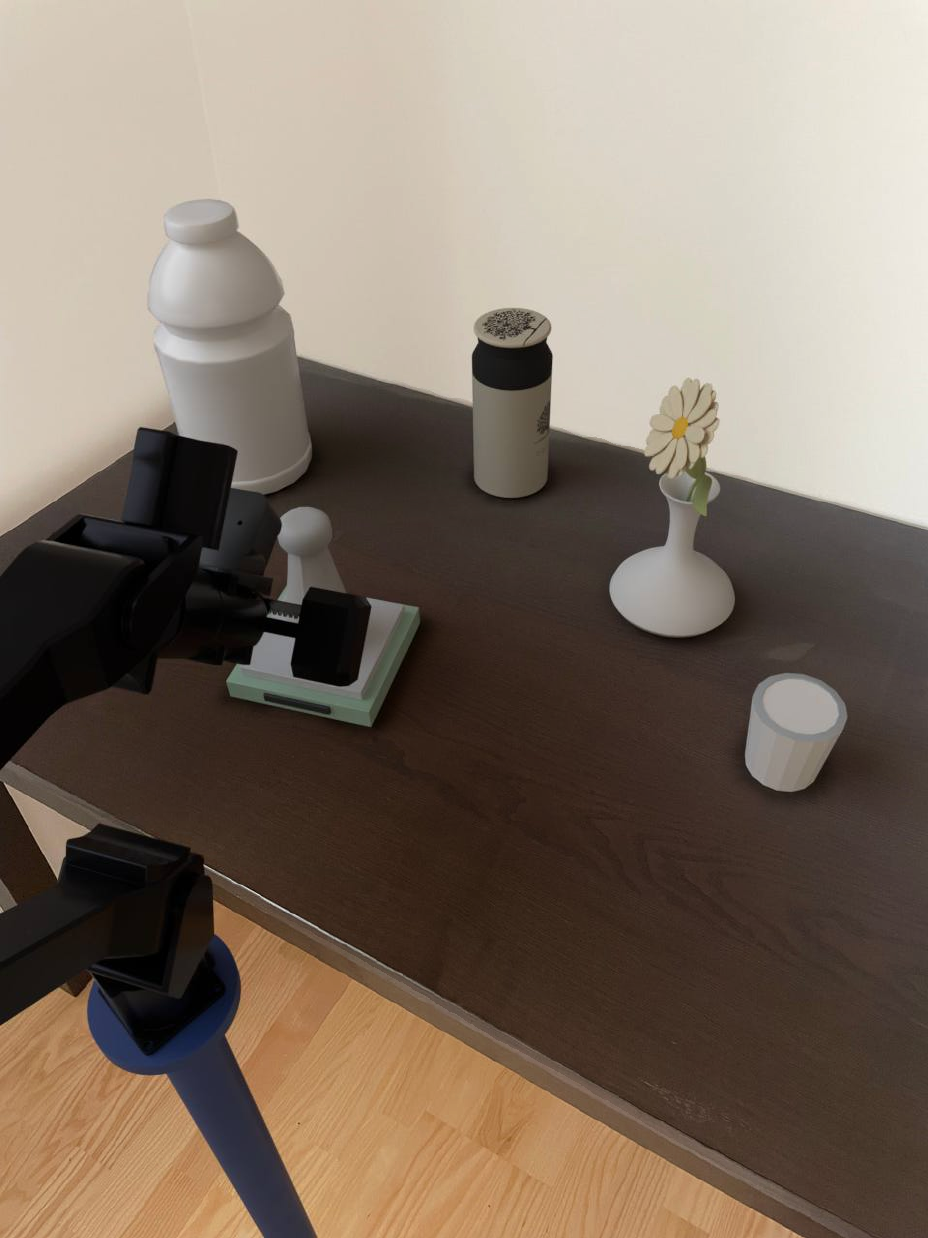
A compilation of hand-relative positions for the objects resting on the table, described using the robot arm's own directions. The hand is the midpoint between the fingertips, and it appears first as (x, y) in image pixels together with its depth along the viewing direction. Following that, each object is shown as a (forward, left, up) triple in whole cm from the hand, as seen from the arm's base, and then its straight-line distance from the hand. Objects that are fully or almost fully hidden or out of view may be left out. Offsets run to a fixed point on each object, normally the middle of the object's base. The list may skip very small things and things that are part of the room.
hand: (281, 622), depth 75 cm
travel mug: (+37, +10, -11) cm, 40 cm away
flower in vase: (+32, -15, -11) cm, 37 cm away
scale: (+6, +3, -11) cm, 12 cm away
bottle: (+19, +33, -11) cm, 40 cm away
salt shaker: (+5, +3, -8) cm, 10 cm away
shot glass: (+24, -32, -11) cm, 41 cm away
